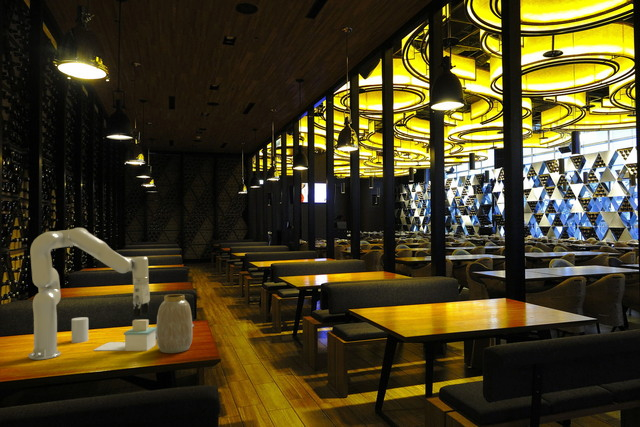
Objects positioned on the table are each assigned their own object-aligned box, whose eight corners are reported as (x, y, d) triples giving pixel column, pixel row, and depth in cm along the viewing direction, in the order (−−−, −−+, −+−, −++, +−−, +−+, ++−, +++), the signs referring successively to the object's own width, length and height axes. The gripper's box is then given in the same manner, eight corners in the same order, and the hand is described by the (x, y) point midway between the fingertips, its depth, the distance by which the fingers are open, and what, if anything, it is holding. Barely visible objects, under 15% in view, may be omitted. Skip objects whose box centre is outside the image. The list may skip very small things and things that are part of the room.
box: (146, 350, 230) (146, 334, 230) (125, 350, 230) (125, 334, 230) (155, 344, 241) (155, 329, 241) (134, 345, 241) (134, 329, 241)
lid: (147, 337, 230) (147, 322, 230) (123, 337, 230) (123, 322, 230) (156, 331, 242) (156, 317, 242) (134, 331, 242) (134, 317, 242)
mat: (123, 350, 230) (123, 349, 230) (93, 350, 231) (93, 349, 231) (136, 343, 245) (136, 342, 245) (108, 343, 246) (108, 342, 246)
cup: (91, 339, 256) (91, 317, 256) (82, 342, 247) (82, 320, 248) (77, 338, 256) (77, 317, 257) (68, 342, 248) (68, 320, 249)
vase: (199, 346, 237) (198, 293, 238) (180, 355, 220) (180, 298, 221) (169, 344, 242) (169, 292, 242) (149, 353, 225) (148, 297, 226)
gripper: (140, 283, 228) (141, 317, 227) (154, 278, 245) (155, 311, 245) (125, 283, 228) (126, 318, 228) (140, 279, 245) (141, 311, 245)
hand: (141, 314), depth 236 cm, fingers open, 9 cm apart
